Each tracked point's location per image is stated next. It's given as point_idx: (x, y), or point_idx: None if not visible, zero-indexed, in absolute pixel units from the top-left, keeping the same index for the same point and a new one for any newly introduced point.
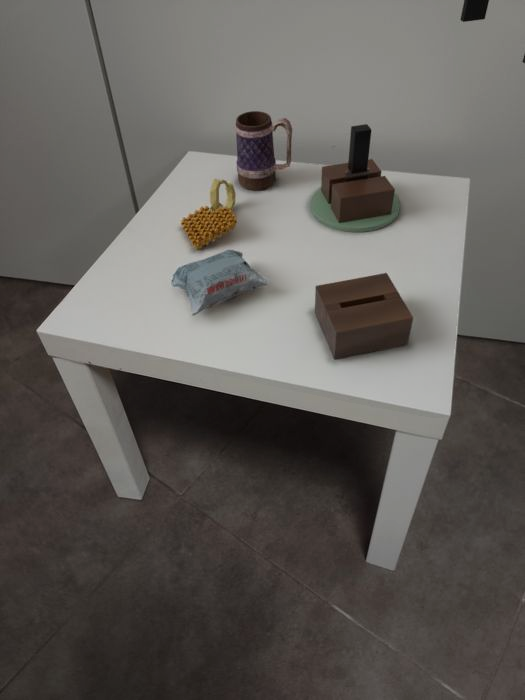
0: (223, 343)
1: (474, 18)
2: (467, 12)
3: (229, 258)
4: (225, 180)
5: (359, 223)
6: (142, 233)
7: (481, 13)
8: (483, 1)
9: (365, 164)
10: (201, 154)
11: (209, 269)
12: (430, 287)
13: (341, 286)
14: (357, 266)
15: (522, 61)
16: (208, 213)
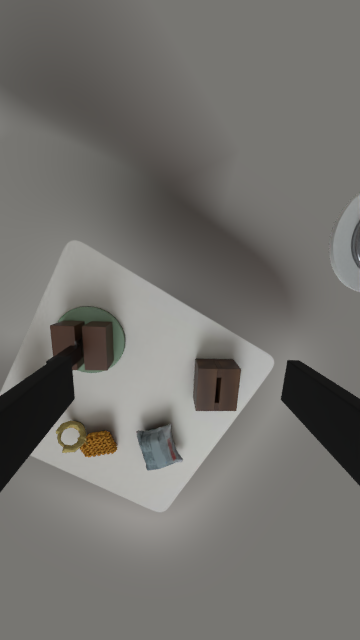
0: (199, 443)
1: (71, 380)
2: (65, 404)
3: (153, 448)
4: (57, 438)
5: (118, 347)
6: (89, 472)
7: (66, 371)
8: (52, 385)
9: (77, 350)
10: None
11: (160, 460)
12: (194, 326)
13: (201, 397)
14: (160, 361)
15: (281, 399)
16: (89, 445)
